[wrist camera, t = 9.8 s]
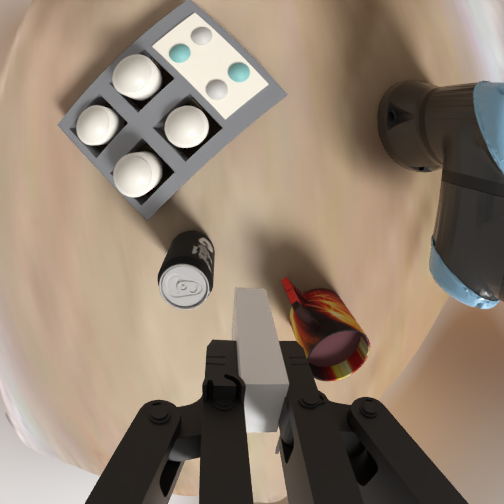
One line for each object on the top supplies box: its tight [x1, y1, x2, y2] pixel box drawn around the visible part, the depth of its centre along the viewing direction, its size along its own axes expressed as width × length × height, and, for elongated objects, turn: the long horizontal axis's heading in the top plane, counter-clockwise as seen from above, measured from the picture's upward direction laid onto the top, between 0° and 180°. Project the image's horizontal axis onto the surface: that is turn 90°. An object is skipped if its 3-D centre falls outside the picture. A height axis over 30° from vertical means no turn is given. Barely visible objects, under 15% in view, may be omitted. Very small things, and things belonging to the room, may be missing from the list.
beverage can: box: [158, 231, 215, 310], centre depth 39 cm, size 7×7×12 cm
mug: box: [281, 277, 370, 381], centre depth 45 cm, size 10×14×12 cm
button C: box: [112, 54, 163, 101], centre depth 30 cm, size 5×5×5 cm
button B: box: [113, 151, 163, 197], centre depth 34 cm, size 5×5×5 cm
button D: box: [76, 105, 124, 145], centre depth 34 cm, size 5×5×5 cm
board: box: [58, 0, 288, 220], centre depth 34 cm, size 24×19×5 cm
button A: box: [165, 106, 210, 148], centre depth 35 cm, size 5×5×5 cm
